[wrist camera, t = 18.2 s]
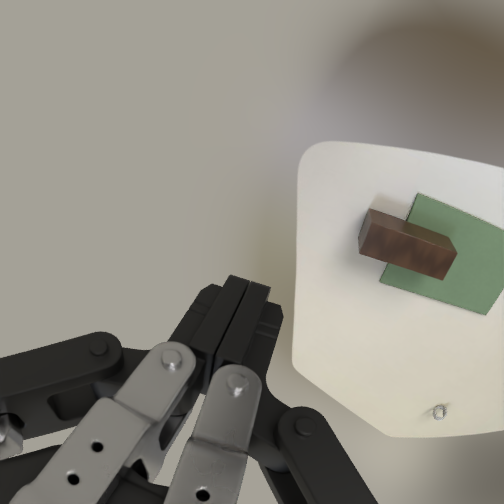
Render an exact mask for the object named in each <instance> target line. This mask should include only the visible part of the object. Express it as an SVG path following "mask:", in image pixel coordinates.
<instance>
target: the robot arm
mask: <svg viewBox="0 0 504 504" xmlns="http://www.w3.org/2000/svg"><path fill="white" fill-rule="evenodd" d="M270 289H271V287H269V286H266V285H262V284H259V283H255V282H252V281H251V282H250V281H249V280H246V279H243V278H240V277H237V276H233V275H230V276H229V277H228V279H227V280H226V282H225V284H224V285H223V287H221V286H218V285H214V284H210V285H209V286H208V287H206V288H204V289H202V290H201V291H200V293H199V294H198V296H197V297H196V299H195V300H194V302H193V303H192V305H191V306H190V308H189V310H188V311H187V312H186V314H185V315H184V317H183V318H182V320H181V322H180V323H179V324H178V326H177V328H176V329H175V331H174V332H173V334H172V335H171V337H170V338H169V340H168V341H167V342H163V343H160V344H158V345H156V346H155V347H153V348H152V349H151V350H137V349H130V348H122V346H121V343H120V341H119V340H118V339H117V337H115V336H114V335H112V334H110V333H107V332H94V333H90V334H87V335H83V336H80V337H77V338H73V339H69V340H66V341H62V342H59V343H55V344H51V345H48V346H44V347H41V348H37V349H33V350H30V351H26V352H22V353H18V354H15V355H11V356H7V357H3V358H0V504H236V503H237V500H238V496H239V492H240V488H241V484H242V480H243V476H244V472H245V468H246V464H247V459H248V455H249V456H250V457H252V458H253V459H255V460H256V461H258V463H259V466H260V468H261V470H262V472H263V474H264V476H265V478H266V480H267V482H268V484H269V486H270V488H271V490H272V492H273V494H274V496H275V498H276V500H277V502H278V504H378V503H377V501H376V500H375V498H374V496H373V495H372V493H371V492H370V490H369V489H368V487H367V485H366V484H365V482H364V480H363V479H362V477H361V476H360V474H359V472H358V471H357V469H356V468H355V466H354V464H353V463H352V461H351V460H350V458H349V457H348V455H347V453H346V452H345V450H344V448H343V447H342V445H341V443H340V442H339V440H338V439H337V437H336V435H335V434H334V432H333V430H332V429H331V427H330V426H329V424H328V422H327V421H326V419H325V418H324V416H322V414H320V413H319V412H318V411H316V410H314V409H312V408H309V407H302V406H301V407H294V408H290V407H288V406H287V405H285V404H284V403H282V402H281V401H279V400H278V399H276V398H275V397H274V396H273V395H272V394H271V392H270V391H269V389H268V387H267V384H266V373H267V370H268V367H269V364H270V360H271V357H272V354H273V350H274V347H275V344H276V341H277V337H278V334H279V330H280V327H281V324H282V321H283V313H282V309H281V306H280V305H278V304H275V303H271V302H268V301H267V300H268V297H269V293H270ZM200 393H201V394H204V395H206V396H205V399H204V402H203V405H202V408H201V410H200V413H199V416H198V419H197V421H196V424H195V427H194V430H193V432H192V435H191V437H190V438H189V439H188V441H187V443H186V444H185V447H184V450H183V452H182V455H181V457H180V460H179V463H178V466H177V468H176V471H175V474H174V477H173V479H172V482H171V485H170V487H167V486H162V485H157V484H152V483H153V482H154V480H155V478H156V477H157V475H158V473H159V472H160V470H161V468H162V465H163V462H164V459H165V456H166V454H167V452H168V451H169V449H170V447H171V446H172V444H173V442H174V441H175V439H176V437H177V436H178V434H179V432H180V431H181V429H182V427H183V426H184V424H185V422H186V421H187V419H188V417H189V415H190V414H191V412H192V410H193V406H194V404H195V402H196V400H197V398H198V396H199V394H200ZM74 426H77V427H76V428H75V429H74V430H73V432H72V433H71V434H70V435H69V437H68V438H67V439H66V440H65V442H64V443H63V444H61V445H54V446H50V447H47V448H44V449H41V450H37V451H34V452H30V453H26V454H23V455H19V456H15V457H11V456H14V455H16V454H20V453H21V452H22V450H23V440H26V439H30V438H34V437H38V436H42V435H46V434H50V433H53V432H57V431H60V430H64V429H67V428H71V427H74ZM9 457H11V458H9Z"/></svg>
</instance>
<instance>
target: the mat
mask: <svg viewBox="0 0 504 504" xmlns="http://www.w3.org/2000/svg"><path fill="white" fill-rule="evenodd" d="M407 222H410V223H413V224H416V225H418V226H421V227H424V228H426V229H429V230H432V231H434V232H437V233H439V234H442V235H445V236H447V237H449V238H450V240H451V242H452V244H453V245H454V247H455V249H456V251H457V253H458V254H457V256H456V258H455V259H454V261H453V263H452V265H451V267H450V269H449V271H448V272H447V274H446V276H445V278H444V280H443V281H442V280H439V279H436V278H433V277H430V276H427V275H424V274H421V273H418V272H415V271H412V270H409V269H406V268H403V267H400V266H396V265H393V264H390V263H388V264H387V266H386V269H385V271H384V273H383V275H382V277H381V279H380V282H381V283H384V284H388V285H391V286H394V287H397V288H400V289H404V290H407V291H410V292H413V293H417V294H420V295H423V296H426V297H429V298H433V299H436V300H439V301H442V302H446V303H449V304H452V305H455V306H458V307H461V308H465V309H468V310H471V311H474V312H477V313H480V314H484V315H486V314H487V313H488V312H489V310H490V309H491V307H492V306H493V304H494V303H495V301H496V300H497V298H498V296H499V295H500V293H501V292H502V290H503V288H504V231H503V230H501V229H499V228H497V227H495V226H493V225H491V224H489V223H487V222H485V221H482V220H480V219H478V218H476V217H474V216H471V215H469V214H467V213H465V212H462V211H460V210H458V209H455V208H453V207H451V206H448V205H446V204H443V203H441V202H439V201H436V200H434V199H431V198H429V197H426V196H424V195H421V194H417V196H416V199H415V201H414V204H413V206H412V209H411V211H410V214H409V216H408V219H407Z"/></svg>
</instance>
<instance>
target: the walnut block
mask: <svg viewBox="0 0 504 504" xmlns="http://www.w3.org/2000/svg"><path fill="white" fill-rule="evenodd" d="M358 240H359V254H362V255H365V256H368V257H372V258H375V259H378V260H381V261H384V262H387V263H390V264H393V265H396V266H400V267H403V268H406V269H409V270H412V271H415V272H418V273H421V274H424V275H427V276H430V277H433V278H436V279H439V280H442V281H443V280H444V278H445V276H446V274H447V272H448V271H449V269H450V267H451V265H452V263H453V261H454V259H455V258H456V256H457V254H458V253H457V251H456V249H455V247H454V245H453V244H452V242H451V240H450V238H449V237H447V236H445V235H442V234H439V233H437V232H434V231H432V230H429V229H426V228H424V227H421V226H418V225H416V224H413V223H410V222H407V221H404V220H402V219H399V218H396V217H393V216H390V215H387V214H384V213H382V212H379V211H376V210H373V209H370V208H369V210H368V213H367V215H366V218H365V221H364V223H363V226H362V229H361V231H360V234H359V237H358Z"/></svg>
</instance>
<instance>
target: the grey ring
mask: <svg viewBox="0 0 504 504" xmlns="http://www.w3.org/2000/svg"><path fill="white" fill-rule="evenodd" d="M438 408H440V409H442V410H443V417H442V418H441V417H438V416H437V415H436V409H438ZM446 415H447V409H446V407H444V406H441V405H439V406H437V407H436V408H435V409H434V411H433V417H434V419H436V420H442V419H444V418H445V417H446Z"/></svg>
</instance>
